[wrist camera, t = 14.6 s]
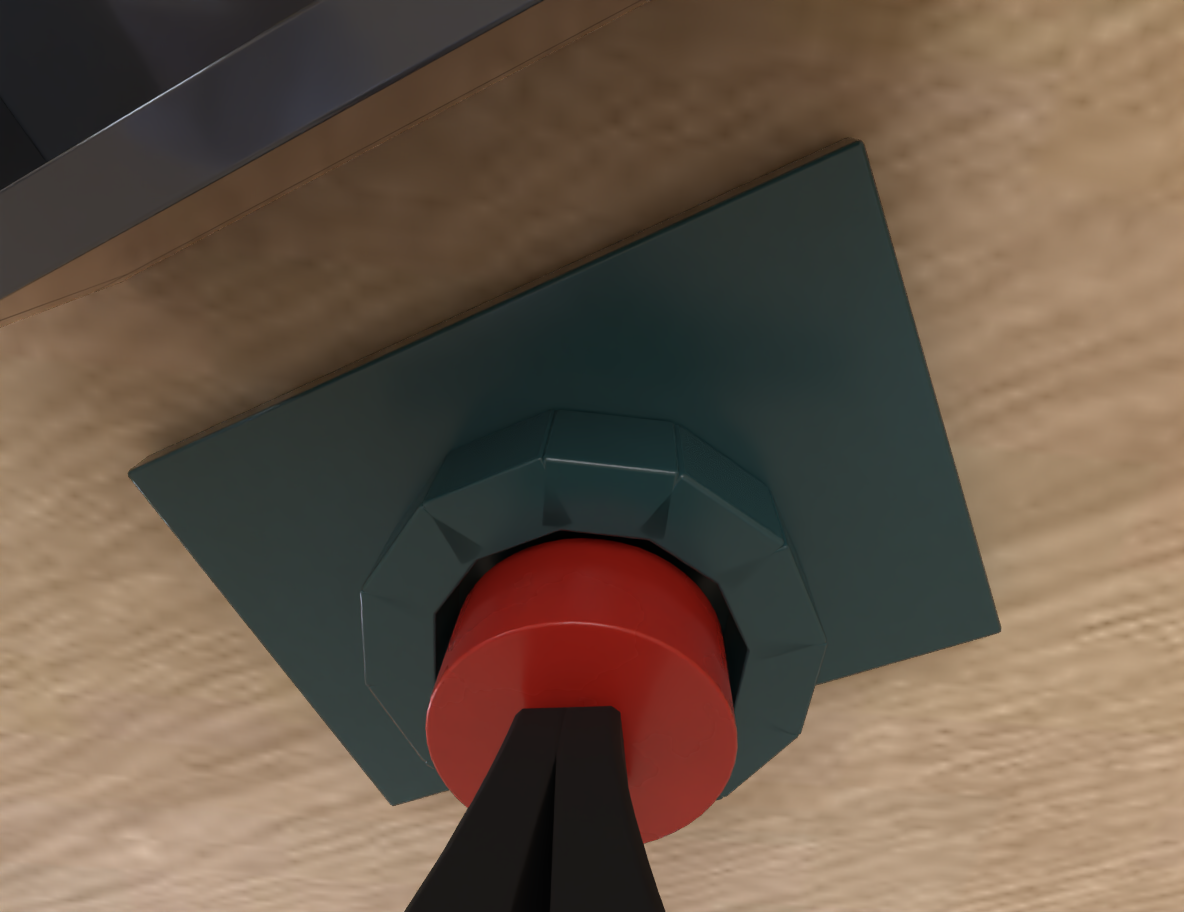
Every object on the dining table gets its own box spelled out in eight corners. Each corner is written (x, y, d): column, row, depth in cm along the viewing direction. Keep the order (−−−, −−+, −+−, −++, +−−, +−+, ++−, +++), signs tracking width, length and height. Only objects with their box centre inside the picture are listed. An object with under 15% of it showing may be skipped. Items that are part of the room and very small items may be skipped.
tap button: (530, 772, 14) (513, 878, 12) (407, 589, 12) (365, 680, 10) (761, 706, 13) (781, 812, 11) (661, 496, 11) (665, 579, 9)
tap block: (403, 786, 17) (368, 891, 15) (146, 455, 14) (50, 528, 11) (989, 615, 14) (1055, 714, 12) (851, 135, 11) (907, 147, 8)
